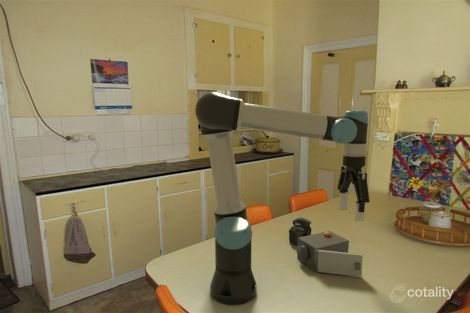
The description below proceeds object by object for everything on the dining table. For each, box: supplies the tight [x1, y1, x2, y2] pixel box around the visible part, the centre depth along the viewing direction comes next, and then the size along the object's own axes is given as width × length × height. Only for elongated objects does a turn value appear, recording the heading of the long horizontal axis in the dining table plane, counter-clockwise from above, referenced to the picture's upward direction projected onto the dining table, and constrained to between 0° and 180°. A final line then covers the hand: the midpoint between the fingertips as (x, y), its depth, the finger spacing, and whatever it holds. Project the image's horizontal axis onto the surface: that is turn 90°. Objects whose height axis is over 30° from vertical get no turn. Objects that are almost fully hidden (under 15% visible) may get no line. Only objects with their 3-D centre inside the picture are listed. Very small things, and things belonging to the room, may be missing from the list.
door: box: [313, 250, 363, 278], centre depth 115 cm, size 16×2×8 cm, turn 76°
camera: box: [288, 216, 312, 246], centre depth 145 cm, size 13×10×10 cm
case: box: [296, 230, 350, 270], centre depth 126 cm, size 18×11×10 cm, turn 116°
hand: (350, 214), depth 116 cm, fingers open, 11 cm apart
